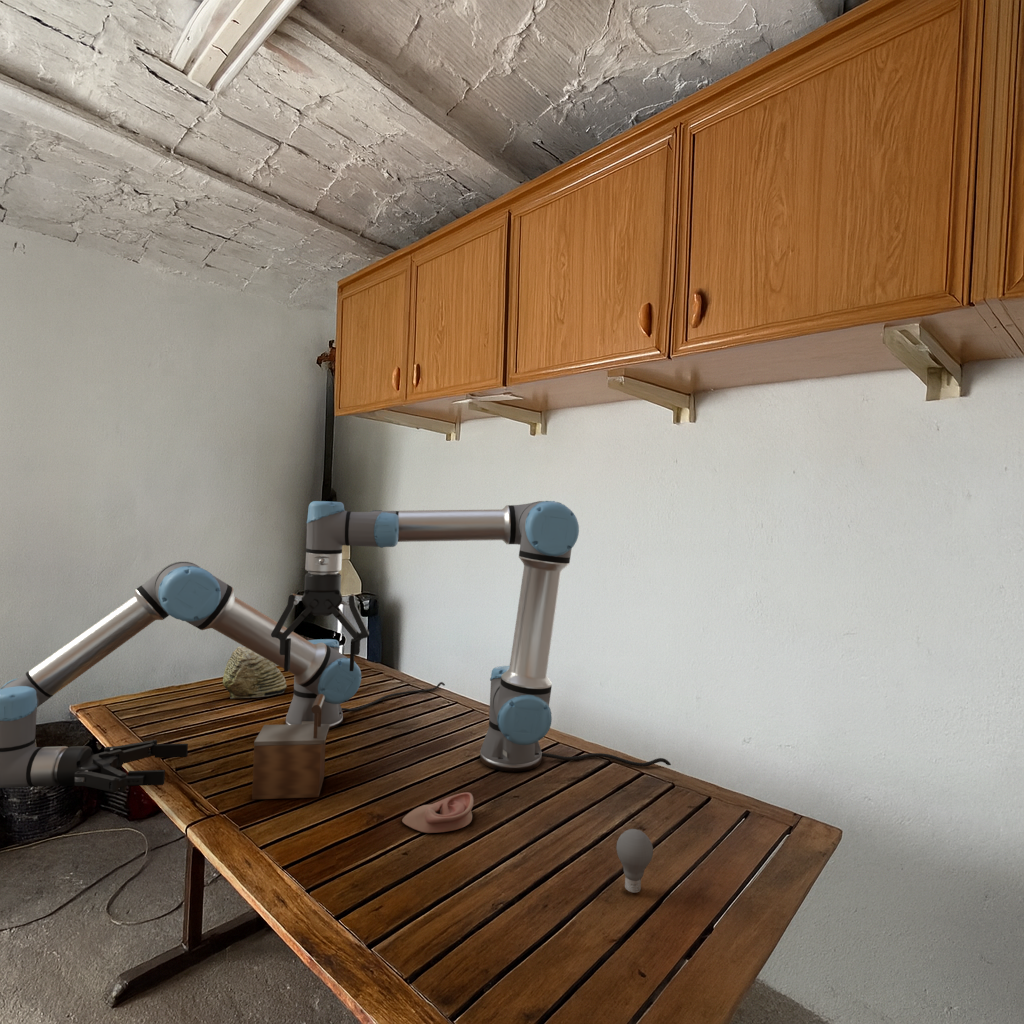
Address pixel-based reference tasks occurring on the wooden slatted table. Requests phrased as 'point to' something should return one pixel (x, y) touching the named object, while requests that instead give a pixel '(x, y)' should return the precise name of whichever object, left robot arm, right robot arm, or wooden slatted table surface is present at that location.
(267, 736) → the lid
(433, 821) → the anatomical model
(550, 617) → the right robot arm
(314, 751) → the chest
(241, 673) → the fossil
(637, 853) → the light bulb
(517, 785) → the wooden slatted table surface
